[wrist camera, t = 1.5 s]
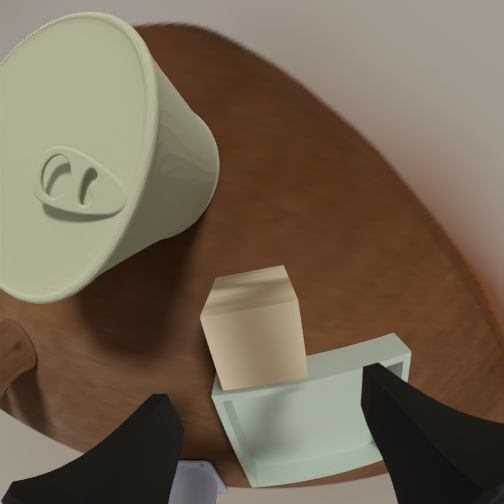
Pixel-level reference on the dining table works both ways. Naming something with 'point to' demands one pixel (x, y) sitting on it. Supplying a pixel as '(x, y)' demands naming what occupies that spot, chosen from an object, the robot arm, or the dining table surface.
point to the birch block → (254, 329)
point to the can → (92, 156)
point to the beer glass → (14, 354)
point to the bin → (308, 416)
